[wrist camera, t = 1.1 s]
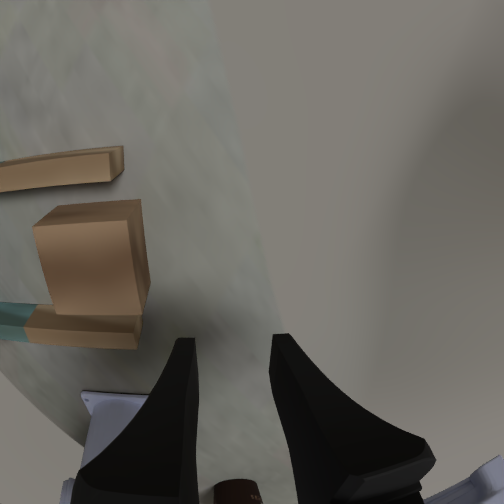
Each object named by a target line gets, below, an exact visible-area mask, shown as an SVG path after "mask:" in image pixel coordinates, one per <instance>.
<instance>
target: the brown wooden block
mask: <svg viewBox="0 0 504 504" xmlns="http://www.w3.org/2000/svg"><path fill="white" fill-rule="evenodd" d="M32 229H33V233H34V238H35V242H36V246H37V250H38V254H39V258H40V262H41V266H42V269H43V273H44V276H45V280H46V283H47V287H48V290H49V293H50V296H51V299H52V302H53V305H54V308H55V311H56V314H62V315H142V314H143V310H144V306H145V302H146V298H147V295H148V291H149V287H150V283H151V281H150V274H149V267H148V260H147V252H146V244H145V236H144V227H143V217H142V207H141V199H136V200H120V201H106V202H94V203H82V204H70V205H60V206H57V207H56V208H54V209H53V210H52V211H51V212H49V213H48V214H47V215H46V216H44V217H43V218H42V219H41V220H40V221H38V222H37V223H36V224H35V225H34V226H33V227H32Z"/></svg>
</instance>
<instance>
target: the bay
mask: <svg viewBox="0 0 504 504" xmlns="http://www.w3.org/2000/svg"><path fill="white" fill-rule="evenodd" d="M123 170H124V153H123V146H114V147H103V148H92V149H83V150H74V151H66V152H58V153H51V154H44V155H38V156H31V157H25V158H19V159H14V160H8V161H3V162H0V192H6V191H13V190H21V189H29V188H38V187H47V186H57V185H68V184H79V183H91V182H105V181H111V180H113V179H114V178H115V177H116V176H117V175H119V174H120V173H121V172H122V171H123ZM142 325H143V320H142V315H62V314H56V311H55V308H54V305H39V304H20V303H4V302H0V339H4V340H12V341H20V342H29V343H38V344H48V345H60V346H72V347H87V348H105V349H132V350H137V348H138V343H139V339H140V334H141V330H142Z"/></svg>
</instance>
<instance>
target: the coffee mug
mask: <svg viewBox="0 0 504 504" xmlns="http://www.w3.org/2000/svg"><path fill="white" fill-rule="evenodd" d="M214 504H263V502H262V499H261V496H260V492H259V489H258V486H257V483H256V482H255V481H252V480H247V479H232V480H226V481H222V482H220V483H218V484H216V485H215V487H214Z"/></svg>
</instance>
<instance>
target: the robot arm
mask: <svg viewBox="0 0 504 504" xmlns="http://www.w3.org/2000/svg"><path fill="white" fill-rule="evenodd" d="M269 376H270V383H271V388H272V394H273V398H274V401H275V404H276V408H277V411H278V414H279V417H280V421H281V424H282V427H283V430H284V434H285V437H286V440H287V444H288V448H289V452H290V457H291V463H292V468H293V474H294V479H295V485H296V491H297V498H298V504H504V459H503V458H502V456H501V455H498V456H496V457H495V458H493V459H492V460H490V461H488V462H487V463H485V464H483V465H482V466H480V467H479V468H478V469H477V470H475V471H474V472H473V473H472V474H471V475H470V477H468V478H466V479H465V480H463V481H461V482H459V483H457V484H455V485H454V486H451V487H449V488H447V489H445V490H443V491H441V492H439V493H437V494H435V495H433V496H431V497H429V498H427V499H424V500H423V499H422V497H421V495H420V492H419V491H421V489H422V486H421V484H420V482H419V481H420V480H421V479H422V478H423V477H424V476H425V475H426V474H427V473H428V472H429V471H430V470H431V469H432V467H433V466H434V464H435V462H436V459H435V457H434V455H433V453H432V451H431V449H430V447H429V445H428V444H427V442H426V441H425V439H424V438H421V437H419V436H416V435H414V434H411V433H409V432H406V431H404V430H402V429H399V428H397V427H395V426H393V425H391V424H390V423H388V422H386V421H384V420H382V419H380V418H379V417H377V416H376V415H374V414H372V413H371V412H369V411H368V410H366V409H364V408H363V407H362V406H360V405H359V404H357V403H356V402H355V401H353V400H352V399H351V398H350V397H348V396H347V395H346V394H345V393H343V392H342V391H341V390H340V389H339V388H338V387H337V386H335V385H334V383H332V382H331V381H330V380H329V379H328V378H327V377H326V376H325V375H324V374H323V373H322V372H321V371H320V370H319V368H318V367H317V366H316V365H315V364H314V363H313V362H312V361H311V360H310V358H309V357H308V356H307V355H306V354H305V352H304V351H303V350H302V349H301V348H300V346H299V345H298V344H297V343H296V341H295V340H294V339H293V337H292V336H291V335H290V334H289V333H286V334H273V337H272V347H271V356H270V365H269ZM81 397H82V399H83V401H84V403H85V405H86V407H87V409H88V411H89V413H90V415H91V421H90V425H89V429H88V434H87V438H86V443H85V448H84V453H83V458H82V463H81V468H80V470H79V471H78V474H77V476H76V479H73V478H69V480H65V481H64V482H63V486H62V492H61V498H60V503H59V504H199V495H198V482H197V467H196V438H197V422H198V408H199V380H198V367H197V356H196V345H195V338H178V339H176V341H175V344H174V347H173V350H172V352H171V355H170V357H169V359H168V361H167V364H166V366H165V368H164V370H163V372H162V374H161V376H160V378H159V379H158V381H157V383H156V385H155V386H154V388H153V390H152V391H151V393H150V395H129V394H113V393H100V392H89V391H82V392H81Z"/></svg>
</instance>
